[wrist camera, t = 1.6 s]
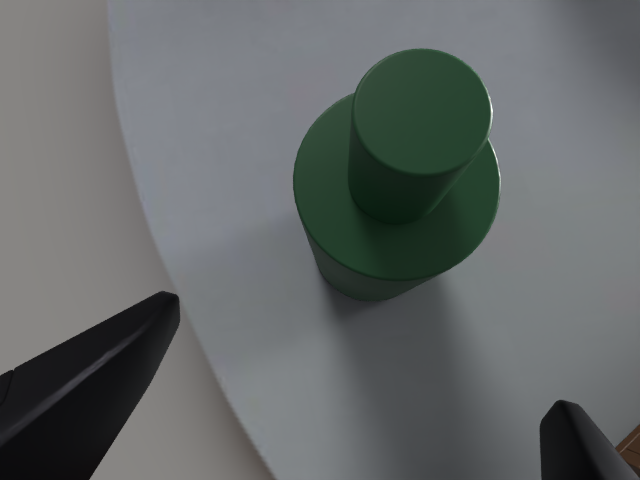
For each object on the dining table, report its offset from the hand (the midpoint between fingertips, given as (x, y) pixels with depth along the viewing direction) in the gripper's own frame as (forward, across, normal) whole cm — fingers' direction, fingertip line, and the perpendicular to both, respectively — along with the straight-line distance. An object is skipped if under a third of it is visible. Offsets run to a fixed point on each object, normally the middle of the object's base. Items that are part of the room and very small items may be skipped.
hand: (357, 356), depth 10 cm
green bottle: (+12, 0, +5) cm, 13 cm away
